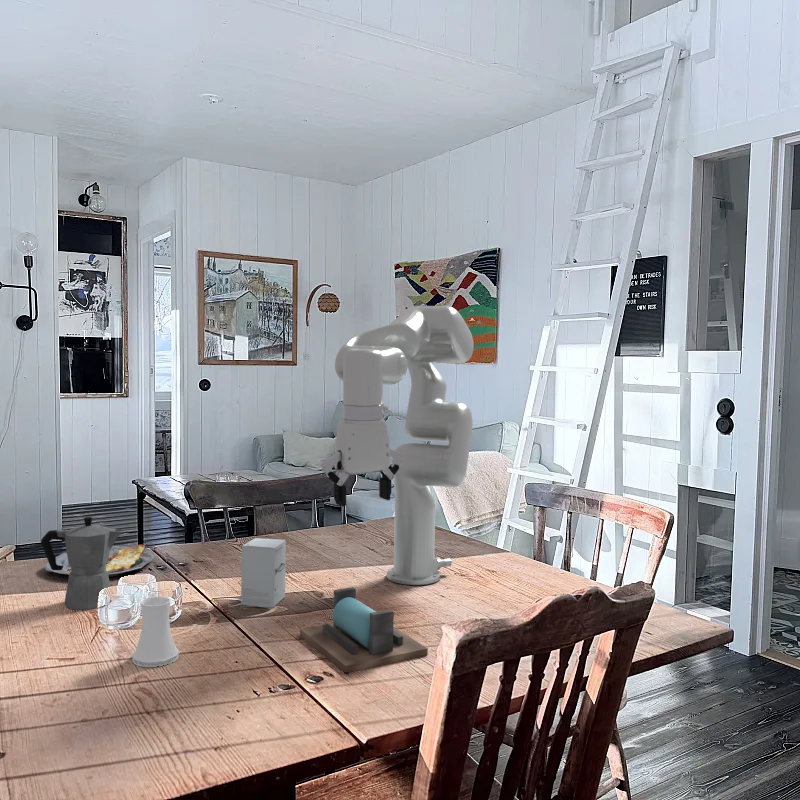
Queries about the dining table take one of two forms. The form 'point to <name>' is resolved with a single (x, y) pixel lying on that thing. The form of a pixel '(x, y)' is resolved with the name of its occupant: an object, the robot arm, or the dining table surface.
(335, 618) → the light blue cylinder
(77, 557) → the coffeepot
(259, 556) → the supplement box
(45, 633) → the dining table surface
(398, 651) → the roll holder
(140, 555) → the food plate
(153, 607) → the vase
